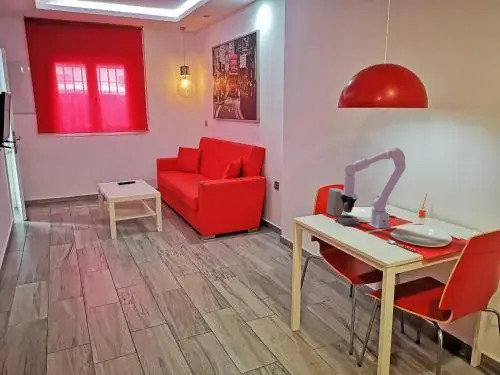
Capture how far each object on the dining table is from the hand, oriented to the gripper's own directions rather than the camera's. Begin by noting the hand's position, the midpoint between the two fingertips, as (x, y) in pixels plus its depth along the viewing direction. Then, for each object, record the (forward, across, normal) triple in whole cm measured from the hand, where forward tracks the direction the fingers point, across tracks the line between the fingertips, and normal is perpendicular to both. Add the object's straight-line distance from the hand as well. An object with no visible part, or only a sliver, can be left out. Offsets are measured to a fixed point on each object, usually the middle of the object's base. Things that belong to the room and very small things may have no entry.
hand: (347, 209), depth 218 cm
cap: (+2, 0, 0) cm, 2 cm away
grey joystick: (+8, 0, 0) cm, 8 cm away
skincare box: (+8, -19, +3) cm, 21 cm away
